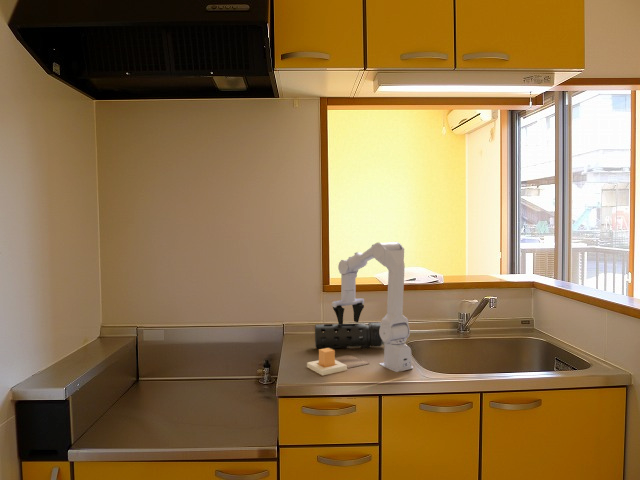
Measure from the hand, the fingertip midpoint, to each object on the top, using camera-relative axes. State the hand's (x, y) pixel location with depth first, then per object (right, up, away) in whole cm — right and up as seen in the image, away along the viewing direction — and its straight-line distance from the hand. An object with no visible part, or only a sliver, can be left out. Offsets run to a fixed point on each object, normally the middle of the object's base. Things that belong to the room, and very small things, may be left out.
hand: (348, 322), depth 184 cm
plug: (-9, -11, -26) cm, 30 cm away
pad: (-1, -11, -19) cm, 22 cm away
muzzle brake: (+1, -11, 0) cm, 10 cm away
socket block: (-9, -11, -26) cm, 30 cm away
